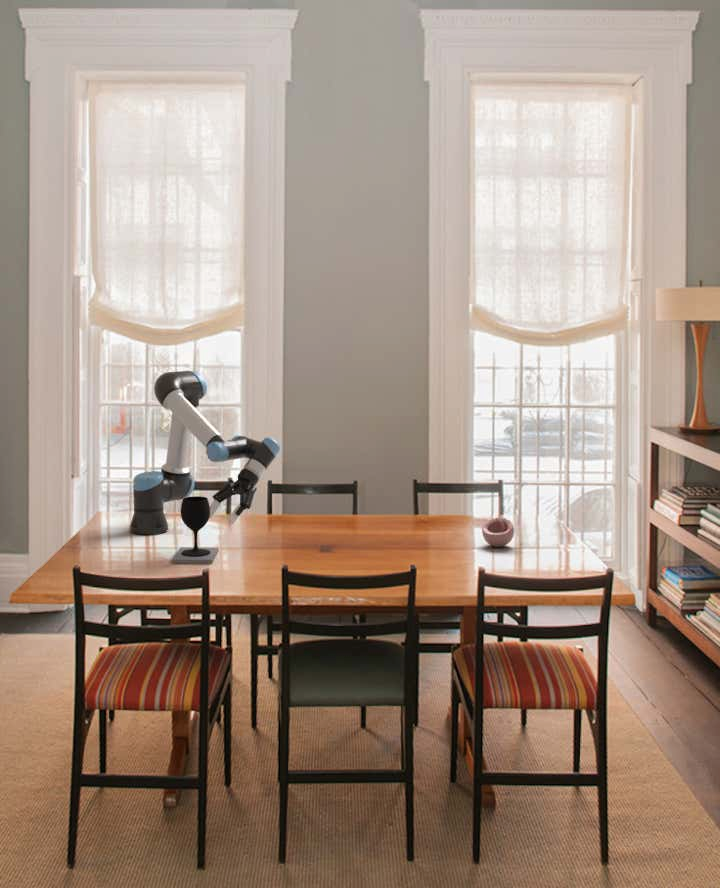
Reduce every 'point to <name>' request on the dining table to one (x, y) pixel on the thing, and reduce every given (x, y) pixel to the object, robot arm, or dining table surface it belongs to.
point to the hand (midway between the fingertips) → (218, 518)
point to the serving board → (195, 560)
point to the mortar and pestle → (498, 532)
